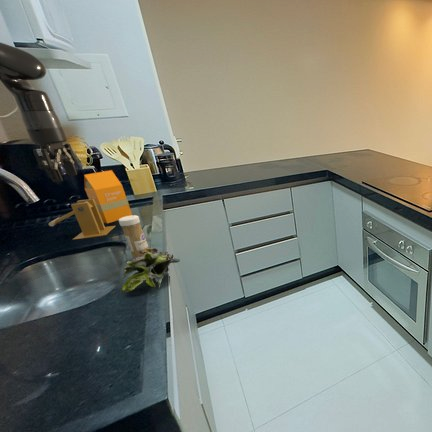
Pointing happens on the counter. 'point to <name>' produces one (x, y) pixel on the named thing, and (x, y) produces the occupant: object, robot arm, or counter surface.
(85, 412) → the counter surface
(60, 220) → the lever
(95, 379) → the counter surface
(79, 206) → the wooden slotted stand
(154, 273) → the green leafy plant
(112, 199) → the orange juice
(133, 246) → the sprinkles bottle
